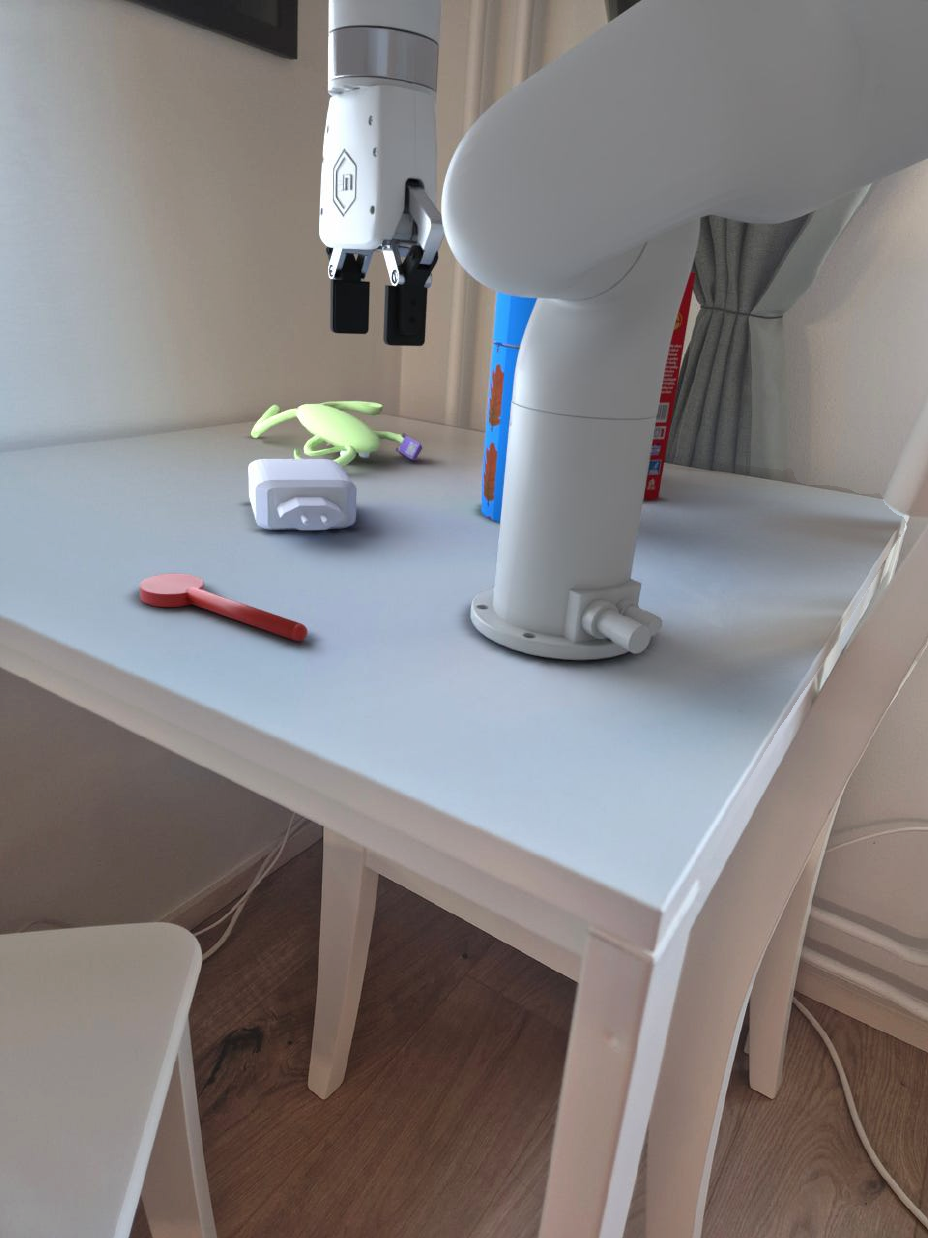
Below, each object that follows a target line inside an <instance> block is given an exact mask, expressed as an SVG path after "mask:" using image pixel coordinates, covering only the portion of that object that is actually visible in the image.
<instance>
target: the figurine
mask: <svg viewBox="0 0 928 1238" xmlns="http://www.w3.org/2000/svg"><path fill="white" fill-rule="evenodd" d="M383 408H384V407H383V405H382V404H380V403H378V402H373V401H372V402H371V401H362V400H339V401H325V402H322V403H304V404H302V405H300V406H298V407H297V408H290V409H287V410H285V411H282V412H281V408H280V407H279V406H278V405H277V404H273V405H271V406H270V407H269V408H268V409H267V410H266V411H265V412H264V413H263V414H262V416H260V418H259V419H258V420H257V422H256V423H255V424H254V425H253V427H252V429H251V432H250V435H251V437H252V438H255V439H257V438H258V437H259V436H260V435H261V434H263V433H265V432H266V431H267V430H270V428H272V427H274V426H277V425H279V424H281V423H283V422H286V421H289V420H291V419H295V418H297V419H298V421H299V422H300V424H301V425H302V426H303V427H304V428H305V430H307V431H308V432H309V433H310V434H311V435H313V437H311V438H309V439H308V440H307V441H306V443H305V444H304V446H303V454H304V455H306V456H309V457H319V456H324V455H328V454H329V455H330V454H334V453H339V454H340V456H338V457H337V458H335V459H332V460H333V461H335V462H337V463H338V464H339V465H340V466H341V467H342V468H344V467H345V466H346V465H348V464H349V463H351V462H352V461H354V460H355V458H356V456H357V453H358V456H359V457H360V458H362V459H369V458H370V455H371V453H373V452H377V451H378V450H380V448H381V441H382V440H387V441H395V442H398V443H400V446H399V447H396V448H395V452H397V453H398V454H399V455H401V456H403V457H404V458H408V459H410V460H412V461H416V460H417V459H418V457H419V455H420V453H421V452H422V449H423V446H422V444H421V443H420V442H418V441H417V440H414V438H411V437H410V436H408V435H407V434H406V433H404V432H403V433H401V434H399V433H396V432H391V431H380V430H374V429H373V428H372V427H371V426H370V425H368V424H367V423H366V422H364V420H361V419H360V418H358V417H357V416H355V415H353V414H351V413H350V412H347V411H344V410H349V411H355V412H358V413H362V414H364V415H368V416H378V415H381V413H382V412H383ZM324 442H325V443H327V444H326V446H328V445H332V446H333V447H329V448H325V449H319V450H314V449H315V448H316V447H317V446H318V445H320V444H322V443H324ZM293 457H294V459H303V457H302V456H301V453H300V448H298V447H295V448H294V451H293Z"/></svg>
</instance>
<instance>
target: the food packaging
mask: <svg viewBox="0 0 928 1238" xmlns="http://www.w3.org/2000/svg"><path fill="white" fill-rule="evenodd" d="M696 275H697V273H696V272H692V271H691V272H690V276H689V279H688V282H687V285H686V289H685V292H684V295H683V298H682V301H681V305H680V308H679V311H678V315H677V318H676V322H675V325H674V330H673V334H672V338H671V342H670V347H669V352H668V357H667V362H666V367H665V372H664V378H663V384H662V390H661V396H660V402H659V408H658V414H657V416H656V423H655V429H654V435H653V442H652V448H651V454H650V461H649V467H648V473H647V479H646V486H645V492H644V498H643V501H647V500H649V501H650V500H659V496H660V490H661V485H662V479H663V473H664V467H665V460H666V456H667V455H666V454H667V449H668V442H669V437H670V431H671V425H672V420H673V419H672V418H673V412H674V408H675V407H674V406H675V400H676V394H677V389H678V382H679V377H680V371H681V366H682V358H683V352H684V347H685V341H686V335H687V329H688V322H689V317H690V311H691V303H692V298H693V292H694V285H695V280H696Z"/></svg>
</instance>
